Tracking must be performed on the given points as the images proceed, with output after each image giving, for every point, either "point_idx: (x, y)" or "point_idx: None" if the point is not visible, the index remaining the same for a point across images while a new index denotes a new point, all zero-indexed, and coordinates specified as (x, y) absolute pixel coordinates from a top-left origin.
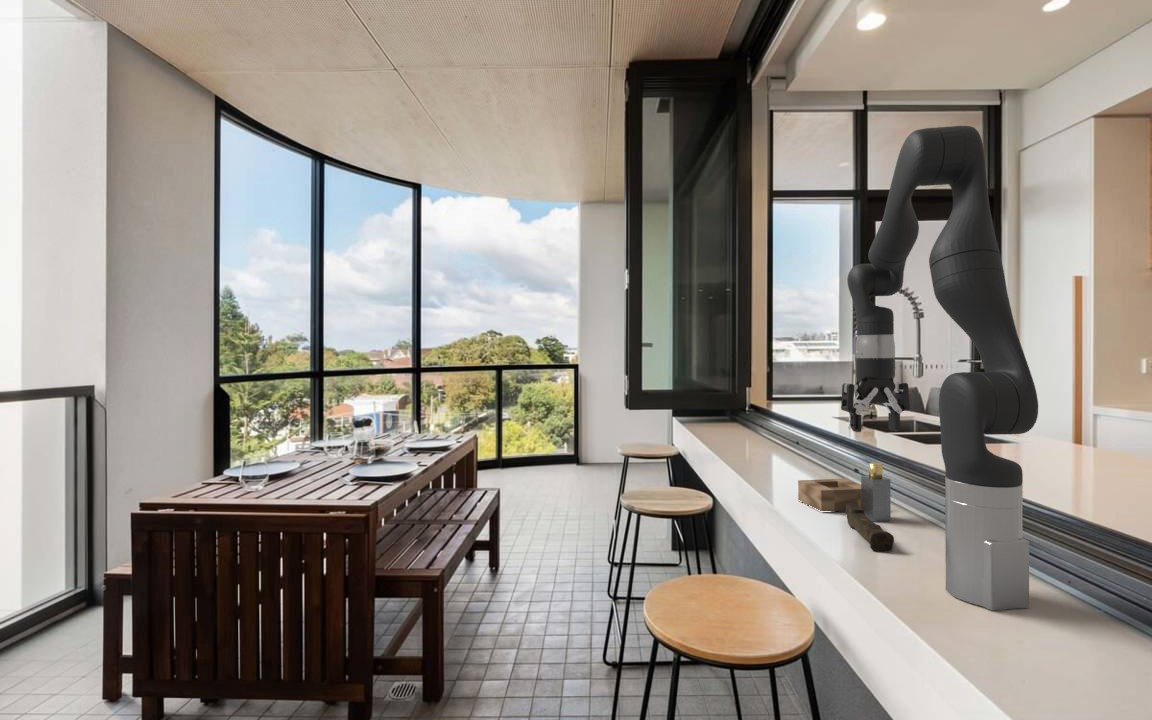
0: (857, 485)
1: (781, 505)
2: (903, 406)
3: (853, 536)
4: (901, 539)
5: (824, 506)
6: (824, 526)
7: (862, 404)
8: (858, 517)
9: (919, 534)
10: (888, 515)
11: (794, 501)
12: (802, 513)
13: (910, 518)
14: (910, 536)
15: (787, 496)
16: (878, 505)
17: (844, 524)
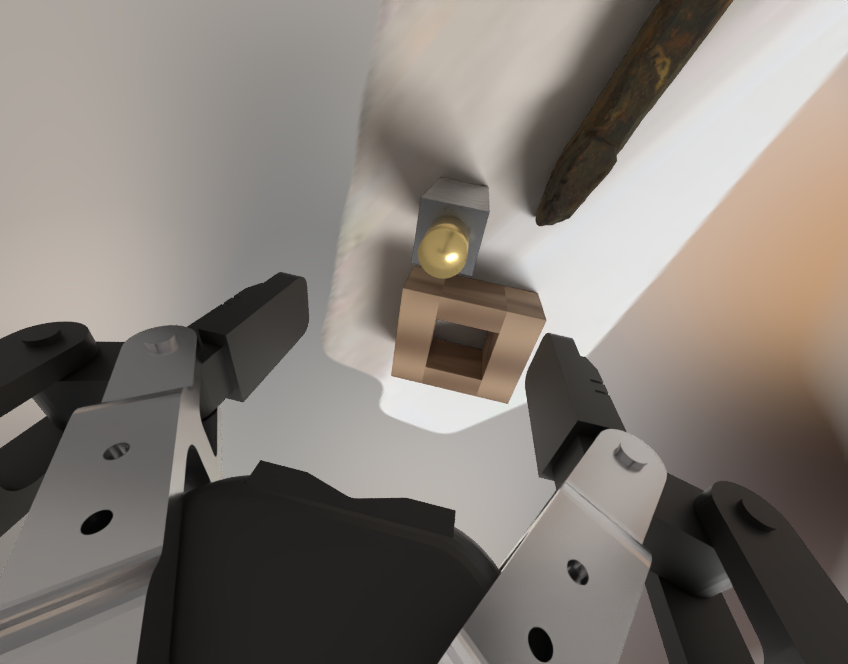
0: (411, 321)
1: None
2: (65, 364)
3: None
4: (563, 2)
5: (531, 297)
6: (641, 202)
7: (624, 529)
8: (648, 102)
9: (467, 34)
10: (444, 180)
11: None
12: (582, 305)
13: (374, 179)
14: (509, 24)
15: None
16: (472, 190)
17: None
